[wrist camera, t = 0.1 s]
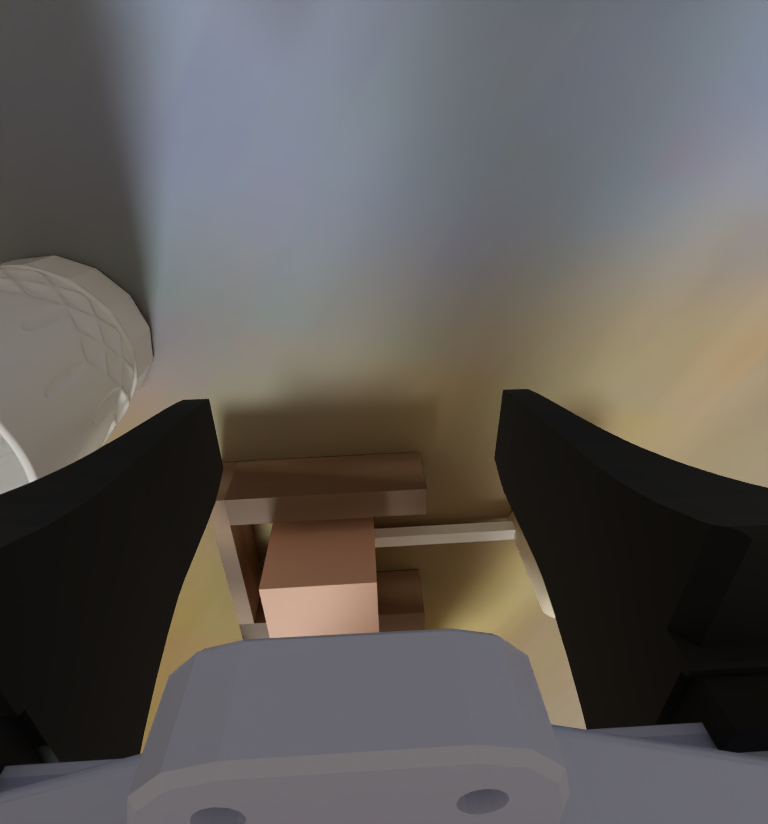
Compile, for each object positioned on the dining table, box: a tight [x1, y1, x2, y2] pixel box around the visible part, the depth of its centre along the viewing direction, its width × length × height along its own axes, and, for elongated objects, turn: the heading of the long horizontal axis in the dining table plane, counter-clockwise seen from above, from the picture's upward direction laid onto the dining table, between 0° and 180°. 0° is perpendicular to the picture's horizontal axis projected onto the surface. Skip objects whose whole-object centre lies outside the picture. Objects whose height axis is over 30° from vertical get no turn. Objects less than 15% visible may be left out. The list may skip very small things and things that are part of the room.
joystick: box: [259, 511, 555, 638], centre depth 24 cm, size 5×15×6 cm, turn 92°
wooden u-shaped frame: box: [210, 452, 427, 640], centre depth 26 cm, size 10×10×3 cm
